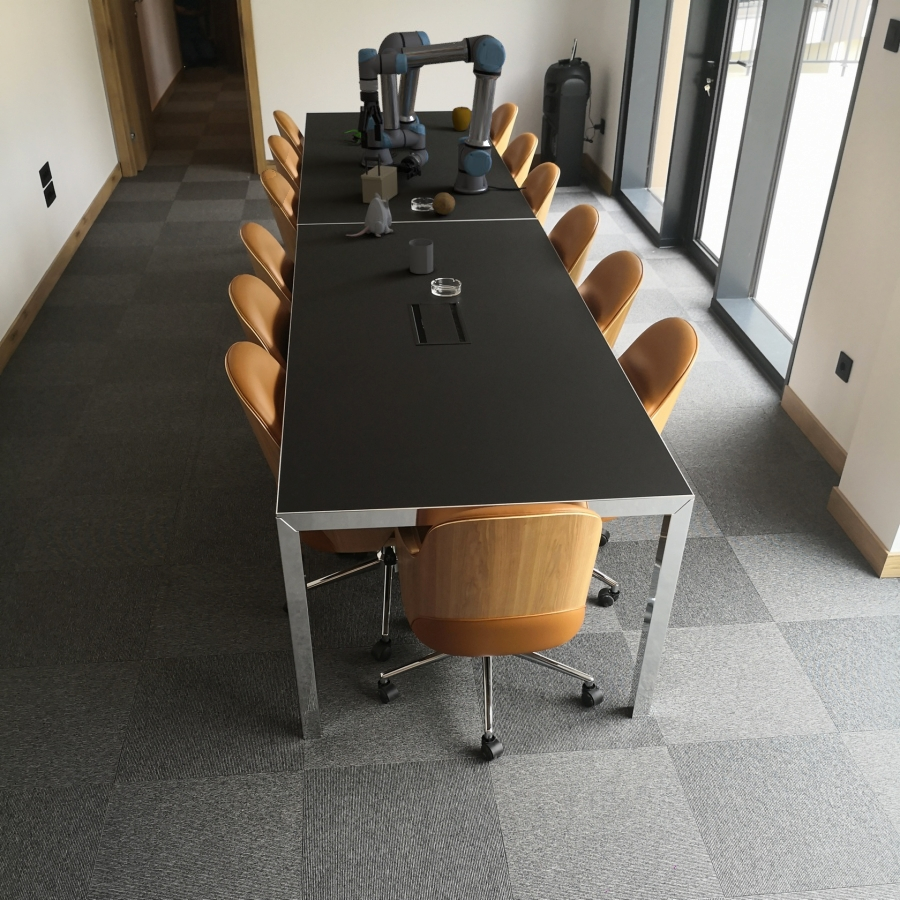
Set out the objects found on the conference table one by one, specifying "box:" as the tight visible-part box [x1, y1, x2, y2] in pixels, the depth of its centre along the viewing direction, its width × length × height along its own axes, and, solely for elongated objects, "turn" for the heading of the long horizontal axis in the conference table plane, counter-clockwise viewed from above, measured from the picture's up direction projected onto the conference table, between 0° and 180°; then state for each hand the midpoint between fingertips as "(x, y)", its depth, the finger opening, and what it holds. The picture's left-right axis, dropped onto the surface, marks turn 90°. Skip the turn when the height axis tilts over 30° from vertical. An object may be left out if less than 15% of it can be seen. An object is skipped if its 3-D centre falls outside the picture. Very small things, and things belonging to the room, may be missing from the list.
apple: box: [451, 105, 472, 132], centre depth 487 cm, size 11×11×13 cm
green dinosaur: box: [343, 129, 361, 146], centre depth 465 cm, size 6×13×30 cm
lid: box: [360, 156, 397, 180], centre depth 373 cm, size 18×9×9 cm, turn 160°
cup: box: [408, 237, 434, 275], centre depth 305 cm, size 8×8×10 cm
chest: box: [361, 170, 398, 204], centre depth 379 cm, size 17×9×10 cm, turn 160°
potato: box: [431, 192, 456, 216], centre depth 360 cm, size 10×14×8 cm
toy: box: [346, 193, 394, 238], centre depth 334 cm, size 9×24×15 cm, turn 137°
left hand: (393, 175), depth 389 cm, fingers open, 13 cm apart
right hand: (371, 144), depth 363 cm, fingers open, 13 cm apart
